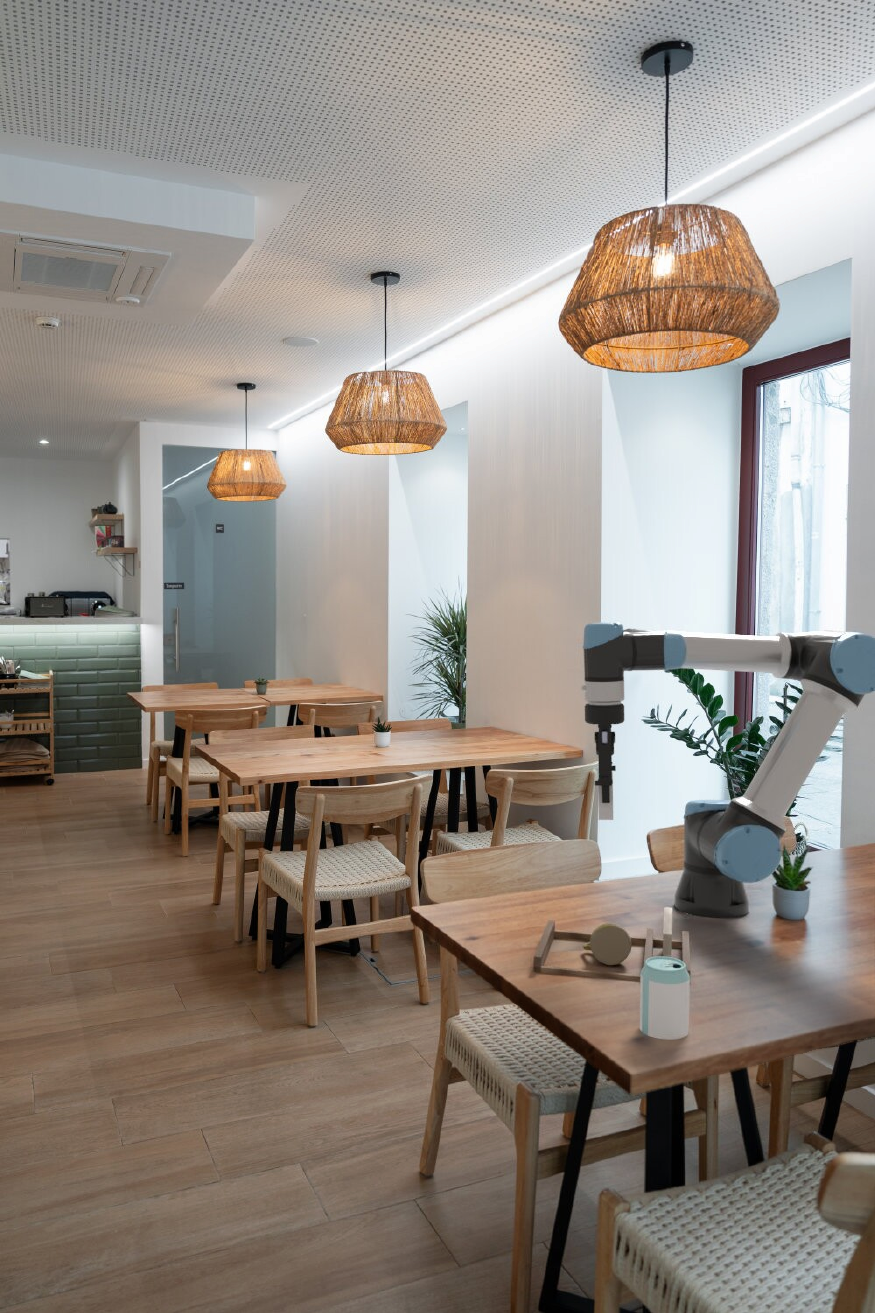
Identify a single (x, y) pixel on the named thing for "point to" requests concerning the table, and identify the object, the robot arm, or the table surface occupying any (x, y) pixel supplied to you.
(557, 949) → the rack
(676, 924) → the table surface
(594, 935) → the mug
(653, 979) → the can
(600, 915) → the table surface
